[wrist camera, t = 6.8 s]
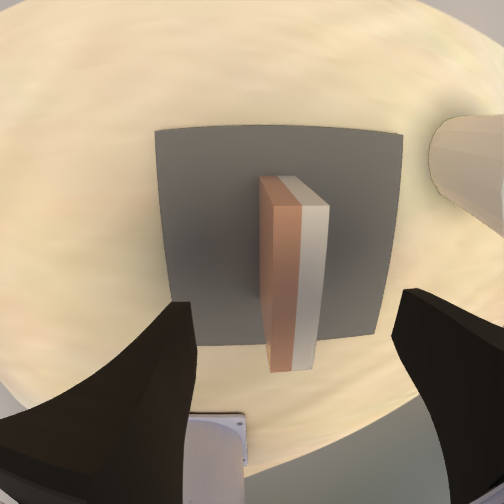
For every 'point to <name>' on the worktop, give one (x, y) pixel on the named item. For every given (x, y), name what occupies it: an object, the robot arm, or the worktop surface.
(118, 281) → the worktop surface
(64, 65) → the worktop surface
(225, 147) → the plate
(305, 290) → the tile
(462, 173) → the white short cylinder
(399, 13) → the worktop surface
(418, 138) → the worktop surface
